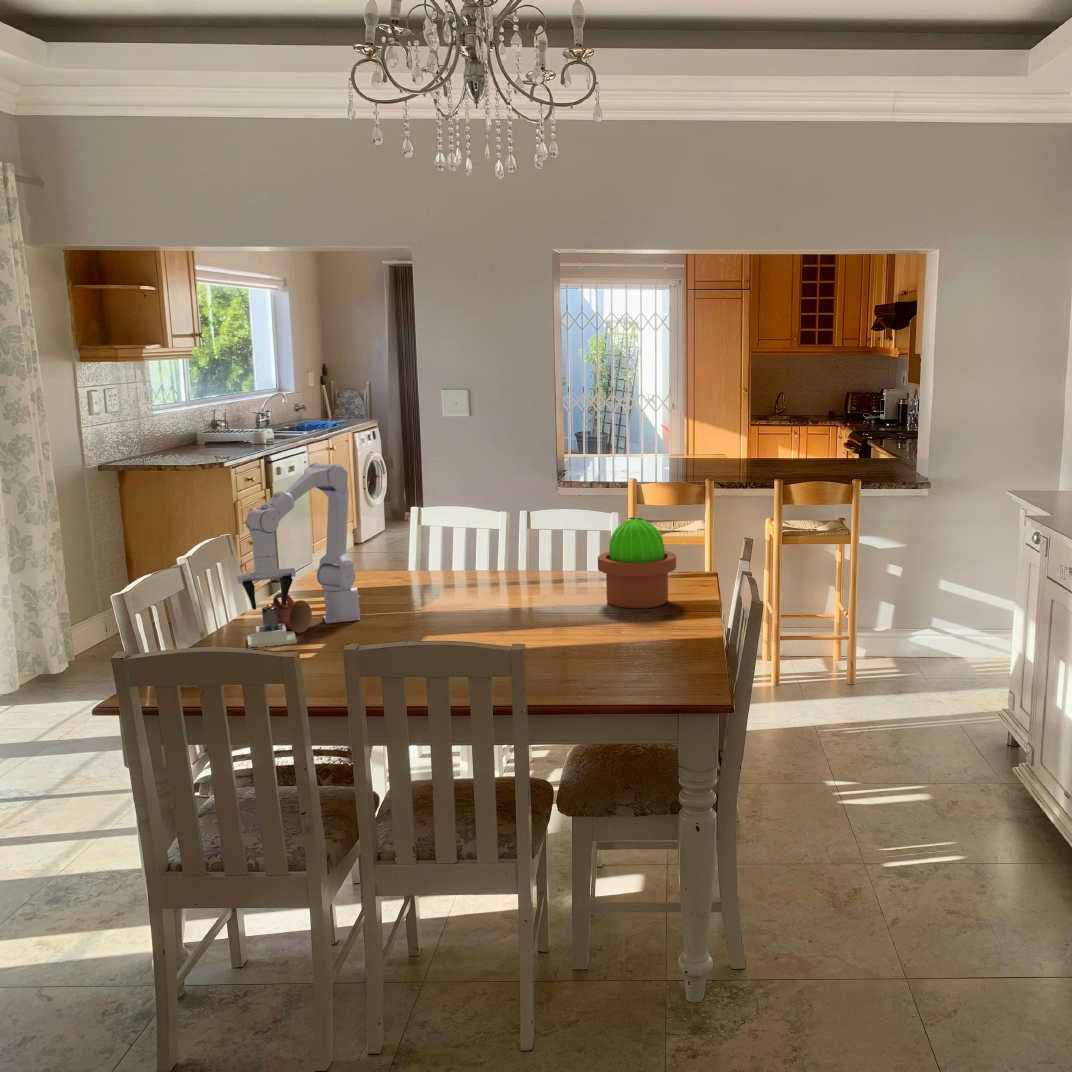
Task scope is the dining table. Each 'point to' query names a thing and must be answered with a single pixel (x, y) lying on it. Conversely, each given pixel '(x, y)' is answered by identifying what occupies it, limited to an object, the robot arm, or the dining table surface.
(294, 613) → the mug
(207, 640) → the dining table surface
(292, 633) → the charger
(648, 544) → the potted cactus
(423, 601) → the dining table surface
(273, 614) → the cell
